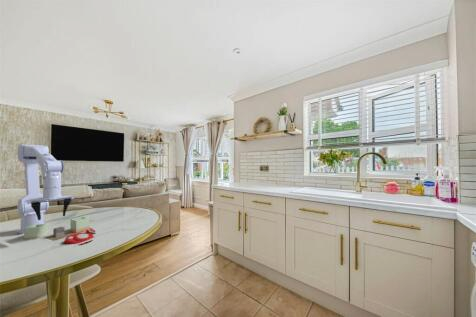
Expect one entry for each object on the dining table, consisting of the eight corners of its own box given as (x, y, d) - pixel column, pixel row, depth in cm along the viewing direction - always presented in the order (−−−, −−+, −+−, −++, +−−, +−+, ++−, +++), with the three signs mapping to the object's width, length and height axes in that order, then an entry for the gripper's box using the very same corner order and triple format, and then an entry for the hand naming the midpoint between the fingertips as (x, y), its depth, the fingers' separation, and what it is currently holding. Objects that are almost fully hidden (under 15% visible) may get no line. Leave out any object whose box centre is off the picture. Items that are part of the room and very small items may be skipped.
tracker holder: (93, 240, 76) (62, 241, 71) (91, 250, 77) (59, 251, 71) (98, 226, 87) (71, 225, 81) (95, 234, 87) (68, 234, 82)
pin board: (43, 239, 81) (43, 229, 82) (83, 228, 95) (83, 219, 95) (53, 242, 77) (53, 232, 77) (94, 230, 91) (94, 221, 91)
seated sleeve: (70, 230, 88) (70, 219, 89) (83, 227, 94) (83, 216, 94) (76, 232, 86) (76, 220, 86) (90, 228, 91) (89, 217, 91)
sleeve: (23, 240, 80) (23, 228, 80) (36, 235, 86) (36, 224, 86) (37, 240, 81) (37, 227, 81) (49, 235, 86) (49, 223, 86)
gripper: (26, 190, 74) (26, 223, 73) (74, 186, 84) (74, 215, 84) (28, 188, 79) (28, 219, 79) (73, 185, 89) (73, 213, 89)
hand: (52, 217), depth 81 cm, fingers open, 7 cm apart
